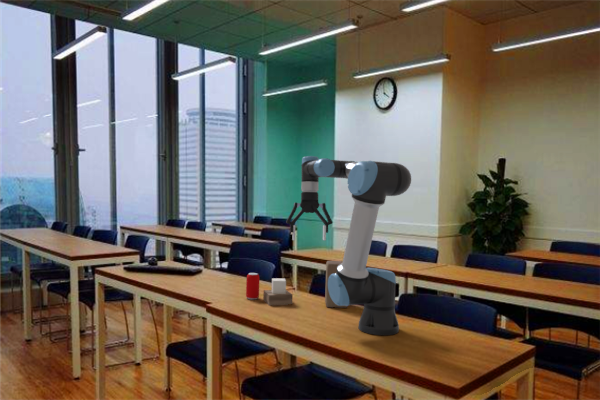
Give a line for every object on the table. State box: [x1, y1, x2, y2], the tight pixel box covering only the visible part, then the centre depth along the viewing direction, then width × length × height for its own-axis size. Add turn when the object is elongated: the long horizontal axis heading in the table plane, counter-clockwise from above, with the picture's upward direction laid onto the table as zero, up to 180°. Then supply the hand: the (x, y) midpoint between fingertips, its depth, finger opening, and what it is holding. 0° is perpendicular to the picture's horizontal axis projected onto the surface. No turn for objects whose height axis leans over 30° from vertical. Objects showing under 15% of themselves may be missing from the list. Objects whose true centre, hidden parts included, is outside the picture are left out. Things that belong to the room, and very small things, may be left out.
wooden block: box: [324, 260, 348, 309], centre depth 211 cm, size 10×10×20 cm
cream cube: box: [271, 277, 287, 294], centre depth 214 cm, size 6×6×6 cm
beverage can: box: [245, 272, 260, 301], centre depth 220 cm, size 6×6×12 cm
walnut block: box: [263, 289, 293, 307], centre depth 214 cm, size 11×11×5 cm
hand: (309, 240), depth 200 cm, fingers open, 13 cm apart
